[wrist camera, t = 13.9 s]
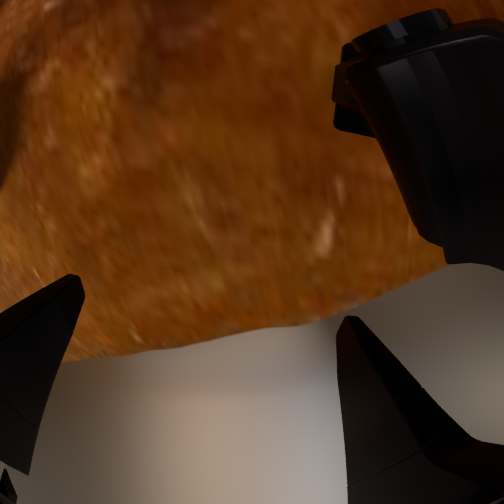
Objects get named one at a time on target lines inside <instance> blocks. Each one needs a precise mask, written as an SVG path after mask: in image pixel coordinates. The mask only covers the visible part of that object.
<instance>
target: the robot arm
mask: <svg viewBox="0 0 504 504" xmlns="http://www.w3.org/2000/svg"><path fill="white" fill-rule="evenodd" d="M347 47H350V48H351V49H352V53H350V52H348V51H347ZM332 100H333V101H334V103H336V105H335V113H334V120H333V125H334V127H335V128H336V129H338V130H341V131H346V132H350V133H355V134H360V135H364V136H369V137H373V138H376V139H377V141H378V143H379V145H380V147H381V149H382V151H383V153H384V155H385V158H386V160H387V162H388V164H389V166H390V169H391V171H392V173H393V175H394V178H395V180H396V183H397V185H398V187H399V190H400V192H401V195H402V197H403V200H404V203H405V205H406V208H407V211H408V213H409V215H410V218H411V220H412V222H413V224H414V226H415V227H416V228H417V230H418V233H419V235H420V236H422V237H423V238H424V239H426V240H427V241H428V242H430V243H433V244H435V245H438V246H440V247H443V251H444V256H445V261H446V263H447V264H460V263H476V264H483V265H489V266H492V267H495V268H497V269H500V270H503V271H504V22H502V21H500V20H497V19H494V18H485V19H478V20H472V21H467V22H462V23H457V24H453V22H452V21H451V19H450V17H449V15H448V14H447V12H446V11H445V10H444V9H439V8H436V9H431V10H427V11H423V12H420V13H416V14H413V15H410V16H407V17H404V18H401V19H398V20H396V21H393V22H390V23H388V24H385V25H383V26H380V27H378V28H376V29H373V30H371V31H369V32H367V33H364V34H362V35H360V36H358V37H356V38H355V39H353V40H352V42H351V43H347V44H345V45H344V46H343V47H342V53H341V63H340V64H338V65H337V66H335V74H334V83H333V92H332ZM340 120H343V122H344V124H343V126H339V125H338V122H339V121H340ZM84 300H85V292H84V289H83V285H82V282H81V279H80V277H79V276H78V275H74V274H68V275H66V276H64V277H62V278H60V279H58V280H57V281H55V282H53V283H51V284H49V285H47V286H46V287H44V288H42V289H40V290H39V291H37V292H35V293H33V294H32V295H30V296H28V297H26V298H25V299H23V300H21V301H20V302H18V303H16V304H15V305H13V306H11V307H10V308H8V309H6V310H5V311H3V312H1V313H0V504H16V501H17V494H16V492H15V490H14V487H13V485H12V483H11V480H10V478H9V475H8V472H7V470H6V469H5V468H4V466H5V464H7V465H8V466H10V467H12V468H14V469H16V470H18V471H20V472H22V473H24V474H26V475H29V472H30V466H31V461H32V456H33V452H34V447H35V443H36V439H37V435H38V430H39V427H40V423H41V420H42V416H43V413H44V409H45V406H46V403H47V400H48V397H49V394H50V391H51V388H52V385H53V382H54V380H55V377H56V374H57V371H58V369H59V366H60V364H61V361H62V359H63V356H64V354H65V351H66V349H67V346H68V344H69V342H70V339H71V337H72V334H73V331H74V329H75V326H76V323H77V320H78V317H79V314H80V311H81V308H82V306H83V303H84ZM336 349H337V379H338V388H339V396H340V404H341V413H342V421H343V432H344V442H345V454H346V468H347V485H348V486H347V489H348V504H504V445H500V444H494V443H488V442H483V441H479V440H477V439H475V438H473V437H471V436H470V435H469V434H468V433H467V432H466V431H465V430H464V429H463V428H461V427H460V426H459V425H458V424H457V423H456V422H455V421H454V420H453V419H452V418H451V417H450V416H449V415H448V414H447V413H446V412H445V411H444V410H443V409H442V408H441V407H440V406H439V405H438V404H437V403H436V402H435V401H434V400H433V398H432V397H431V396H430V395H429V394H428V393H427V392H426V391H425V389H424V388H421V385H420V384H419V383H418V381H417V380H416V379H415V378H414V377H413V376H412V375H411V374H410V372H409V371H408V370H407V369H406V368H405V367H404V366H403V365H402V364H401V362H400V361H399V360H398V359H397V358H396V357H395V356H394V355H393V354H392V353H391V351H390V350H389V349H388V348H387V347H386V346H385V345H384V344H383V343H382V342H381V341H380V339H379V338H378V337H377V336H376V335H375V334H374V333H373V332H372V331H371V330H370V329H369V328H368V327H367V326H366V325H365V323H364V322H363V321H362V320H361V319H360V318H359V317H357V316H349V315H348V316H346V317H345V318H344V319H343V321H342V323H341V325H340V327H339V330H338V332H337V335H336Z"/></svg>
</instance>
